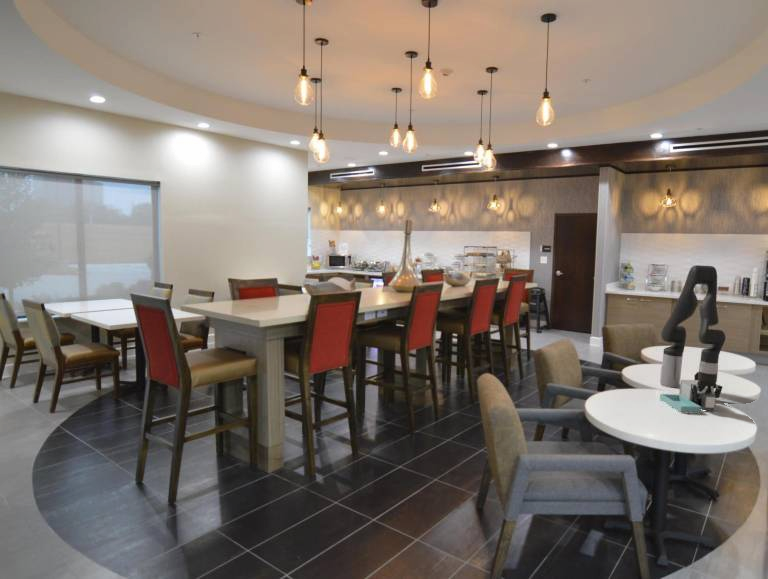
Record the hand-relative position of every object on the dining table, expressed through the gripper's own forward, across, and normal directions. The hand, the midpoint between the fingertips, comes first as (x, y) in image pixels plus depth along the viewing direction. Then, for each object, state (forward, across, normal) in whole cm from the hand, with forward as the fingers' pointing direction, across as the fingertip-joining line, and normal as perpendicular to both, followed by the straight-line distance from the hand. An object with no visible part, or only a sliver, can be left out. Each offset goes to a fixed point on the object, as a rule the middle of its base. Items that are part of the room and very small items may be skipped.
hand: (704, 405), depth 242 cm
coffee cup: (+2, -9, -16) cm, 19 cm away
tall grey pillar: (+2, 0, -3) cm, 3 cm away
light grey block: (+1, 0, -8) cm, 9 cm away
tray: (+1, +10, -2) cm, 11 cm away
